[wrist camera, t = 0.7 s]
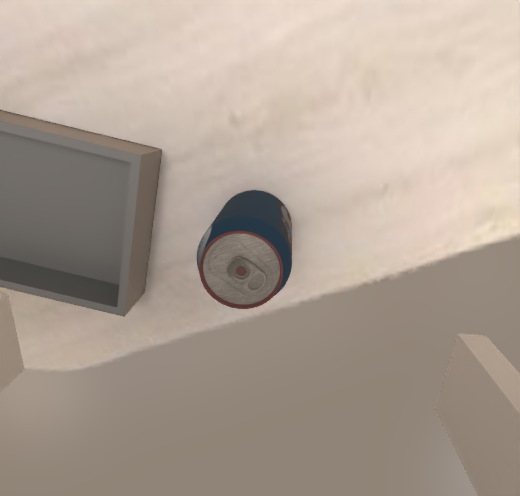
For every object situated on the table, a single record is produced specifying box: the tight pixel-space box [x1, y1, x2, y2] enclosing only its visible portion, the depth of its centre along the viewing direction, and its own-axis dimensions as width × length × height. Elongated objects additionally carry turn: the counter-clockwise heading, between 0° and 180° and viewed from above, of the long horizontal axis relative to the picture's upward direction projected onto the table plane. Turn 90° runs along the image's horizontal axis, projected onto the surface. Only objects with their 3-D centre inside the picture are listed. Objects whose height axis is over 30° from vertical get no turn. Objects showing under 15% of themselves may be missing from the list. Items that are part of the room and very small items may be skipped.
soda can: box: [197, 190, 292, 309], centre depth 30 cm, size 7×7×12 cm
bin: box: [0, 110, 162, 317], centre depth 34 cm, size 22×16×5 cm
